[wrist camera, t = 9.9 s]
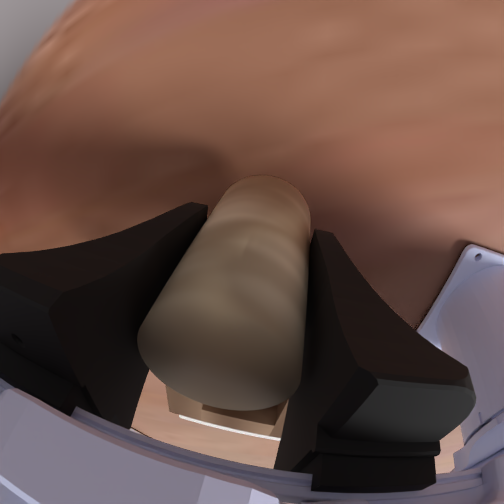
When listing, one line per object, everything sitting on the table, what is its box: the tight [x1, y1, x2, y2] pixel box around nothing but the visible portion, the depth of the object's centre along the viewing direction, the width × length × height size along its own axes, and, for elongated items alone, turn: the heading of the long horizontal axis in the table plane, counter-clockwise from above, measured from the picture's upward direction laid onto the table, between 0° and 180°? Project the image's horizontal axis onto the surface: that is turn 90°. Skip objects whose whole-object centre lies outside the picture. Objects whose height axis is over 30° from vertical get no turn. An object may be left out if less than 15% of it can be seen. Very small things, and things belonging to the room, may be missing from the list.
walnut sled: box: [166, 385, 289, 438], centre depth 19 cm, size 10×9×4 cm
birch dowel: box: [137, 175, 311, 411], centre depth 9 cm, size 4×4×7 cm
